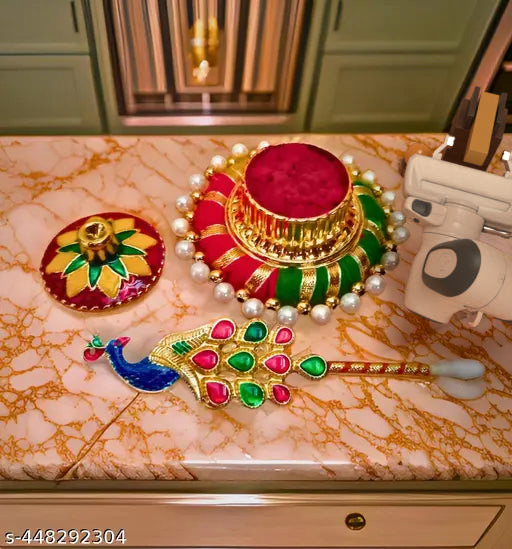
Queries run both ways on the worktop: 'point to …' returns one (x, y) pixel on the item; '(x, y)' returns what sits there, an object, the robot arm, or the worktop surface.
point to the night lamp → (413, 149)
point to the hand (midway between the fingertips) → (479, 143)
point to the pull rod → (481, 129)
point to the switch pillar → (463, 128)
